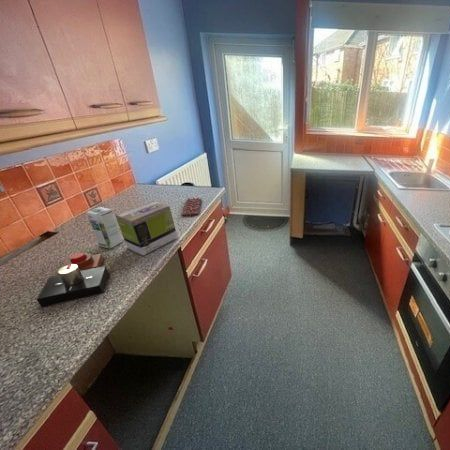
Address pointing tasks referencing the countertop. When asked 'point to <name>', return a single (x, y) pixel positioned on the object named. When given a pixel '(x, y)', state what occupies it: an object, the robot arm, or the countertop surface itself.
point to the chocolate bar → (192, 207)
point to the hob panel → (73, 287)
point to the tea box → (147, 227)
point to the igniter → (87, 262)
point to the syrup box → (104, 227)
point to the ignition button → (77, 257)
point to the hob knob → (70, 274)
